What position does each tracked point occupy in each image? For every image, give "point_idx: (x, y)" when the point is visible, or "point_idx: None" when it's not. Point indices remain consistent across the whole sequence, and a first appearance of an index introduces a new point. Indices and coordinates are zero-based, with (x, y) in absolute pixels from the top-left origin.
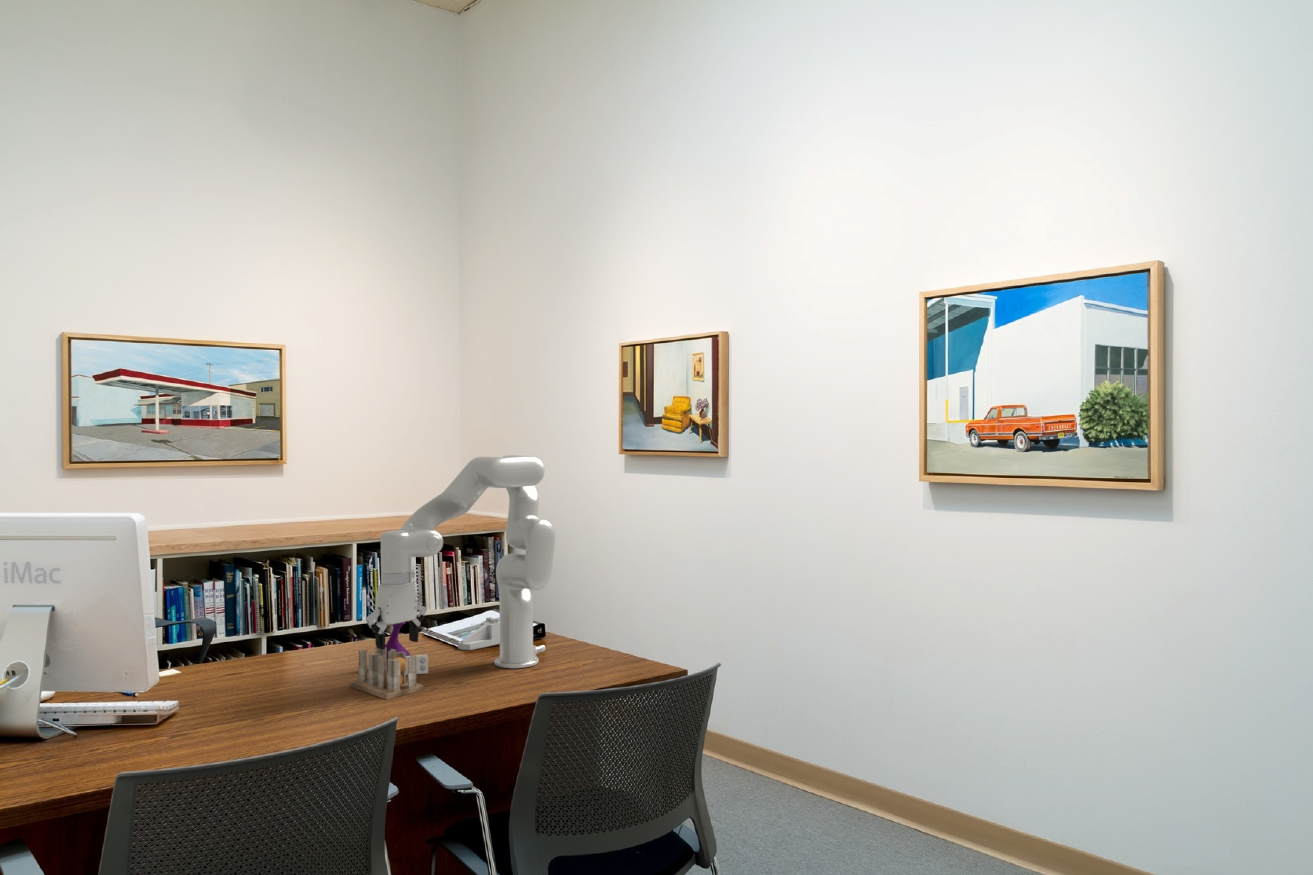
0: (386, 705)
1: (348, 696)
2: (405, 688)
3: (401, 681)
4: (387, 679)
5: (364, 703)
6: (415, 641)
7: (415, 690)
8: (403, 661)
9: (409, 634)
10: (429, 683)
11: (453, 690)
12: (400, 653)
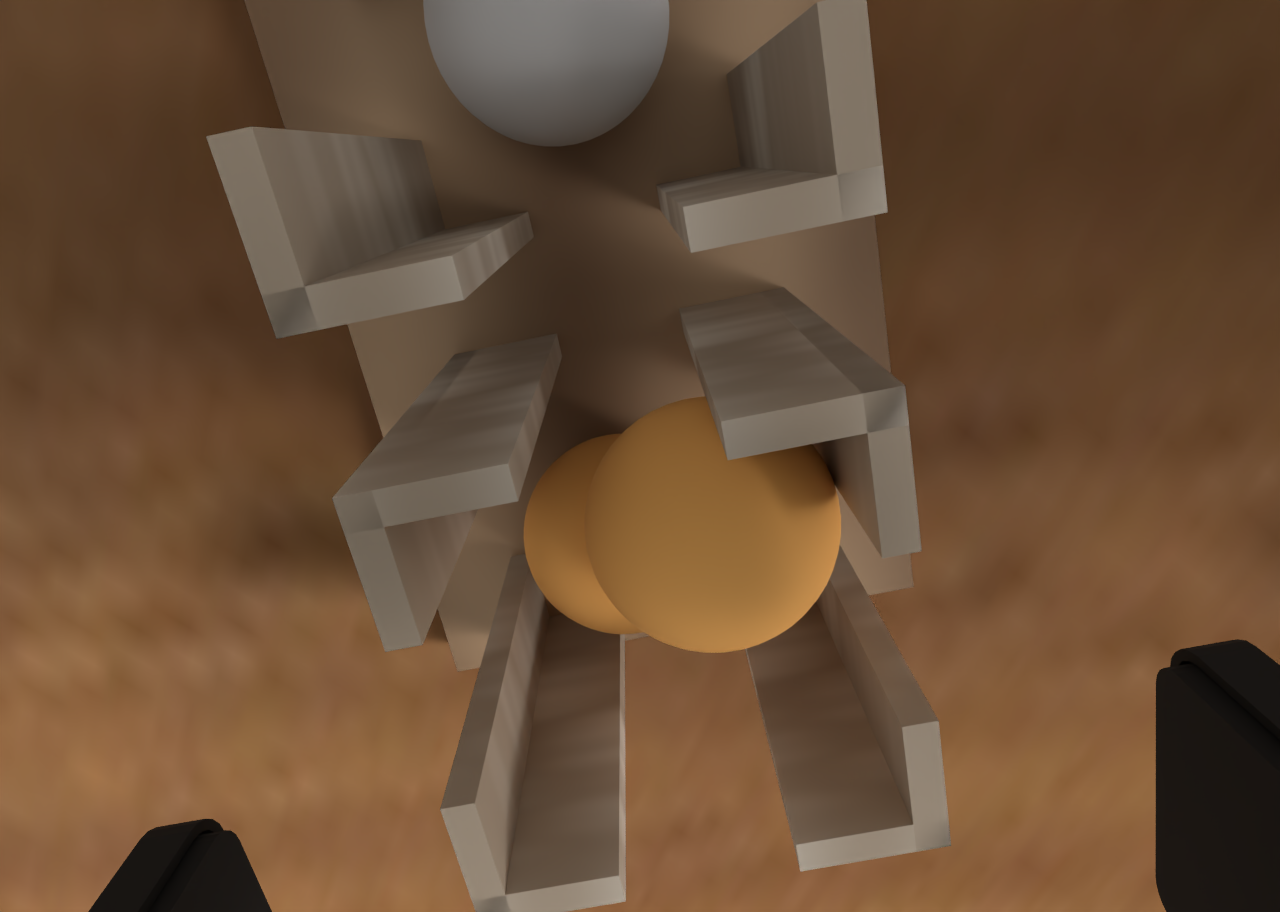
0: (409, 796)
1: (133, 305)
2: None
3: None
4: (526, 516)
5: (244, 638)
6: (1163, 901)
7: None
8: (773, 634)
9: (1274, 797)
10: (1071, 370)
11: (1091, 734)
12: (857, 430)
